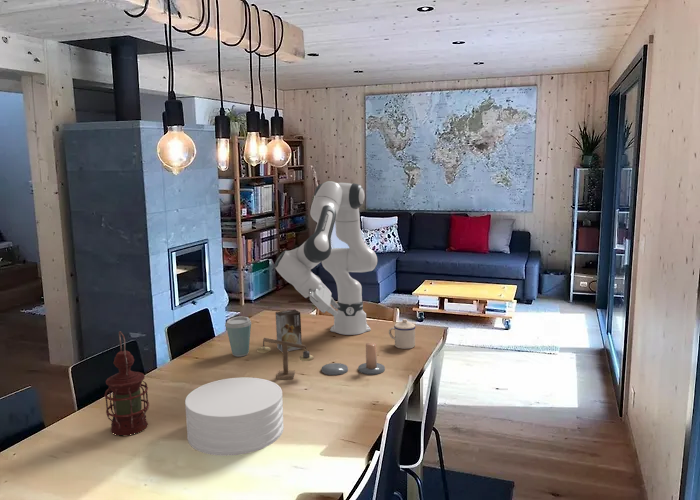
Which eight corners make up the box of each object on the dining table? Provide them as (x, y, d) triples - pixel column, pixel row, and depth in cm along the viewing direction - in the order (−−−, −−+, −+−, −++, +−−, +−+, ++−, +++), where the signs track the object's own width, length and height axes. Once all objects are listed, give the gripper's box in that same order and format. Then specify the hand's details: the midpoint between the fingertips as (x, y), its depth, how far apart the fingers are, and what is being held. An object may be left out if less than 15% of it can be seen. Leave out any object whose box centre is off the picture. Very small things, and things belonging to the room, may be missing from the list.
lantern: (155, 430, 171) (147, 334, 166) (111, 441, 164) (102, 341, 159) (145, 415, 181) (138, 324, 176) (104, 425, 174) (95, 331, 170)
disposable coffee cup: (244, 359, 230) (242, 323, 227) (221, 356, 234) (219, 321, 231) (257, 351, 239) (256, 317, 237) (235, 348, 243) (234, 314, 241)
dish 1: (322, 365, 222) (322, 363, 222) (347, 365, 222) (347, 362, 221) (320, 375, 212) (320, 372, 212) (347, 375, 212) (347, 372, 212)
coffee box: (296, 344, 247) (295, 308, 245) (302, 349, 242) (301, 312, 239) (276, 348, 243) (275, 311, 241) (282, 352, 238) (280, 315, 235)
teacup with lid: (418, 344, 245) (419, 318, 243) (410, 350, 237) (410, 323, 236) (393, 340, 251) (393, 314, 249) (384, 346, 243) (384, 319, 242)
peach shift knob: (366, 365, 219) (365, 342, 217) (376, 365, 219) (376, 342, 217) (366, 369, 215) (365, 346, 213) (376, 368, 215) (376, 346, 213)
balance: (259, 373, 215) (257, 335, 212) (314, 372, 215) (313, 334, 212) (257, 379, 209) (255, 340, 207) (313, 378, 209) (312, 339, 207)
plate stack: (203, 411, 184) (201, 377, 182) (289, 411, 183) (288, 377, 181) (173, 456, 156) (171, 416, 154) (275, 456, 155) (273, 416, 153)
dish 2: (358, 365, 222) (358, 362, 221) (383, 364, 222) (383, 362, 221) (358, 374, 212) (358, 372, 212) (385, 374, 212) (385, 371, 212)
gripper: (314, 287, 202) (342, 313, 204) (317, 274, 222) (343, 298, 224) (302, 299, 203) (330, 325, 205) (306, 285, 223) (332, 309, 225)
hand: (337, 311), depth 215 cm, fingers open, 8 cm apart
